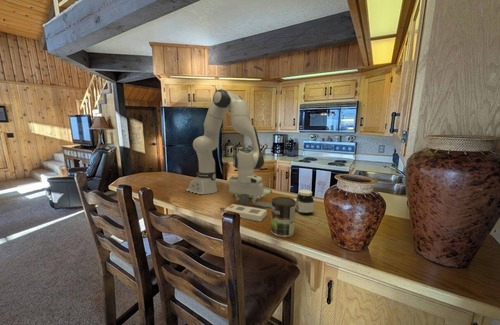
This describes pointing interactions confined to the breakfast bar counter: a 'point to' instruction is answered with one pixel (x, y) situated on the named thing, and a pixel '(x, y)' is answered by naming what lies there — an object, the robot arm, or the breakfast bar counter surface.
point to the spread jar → (304, 202)
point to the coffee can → (283, 216)
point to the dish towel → (266, 192)
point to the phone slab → (263, 204)
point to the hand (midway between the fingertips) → (245, 201)
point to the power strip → (247, 212)
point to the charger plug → (244, 200)
